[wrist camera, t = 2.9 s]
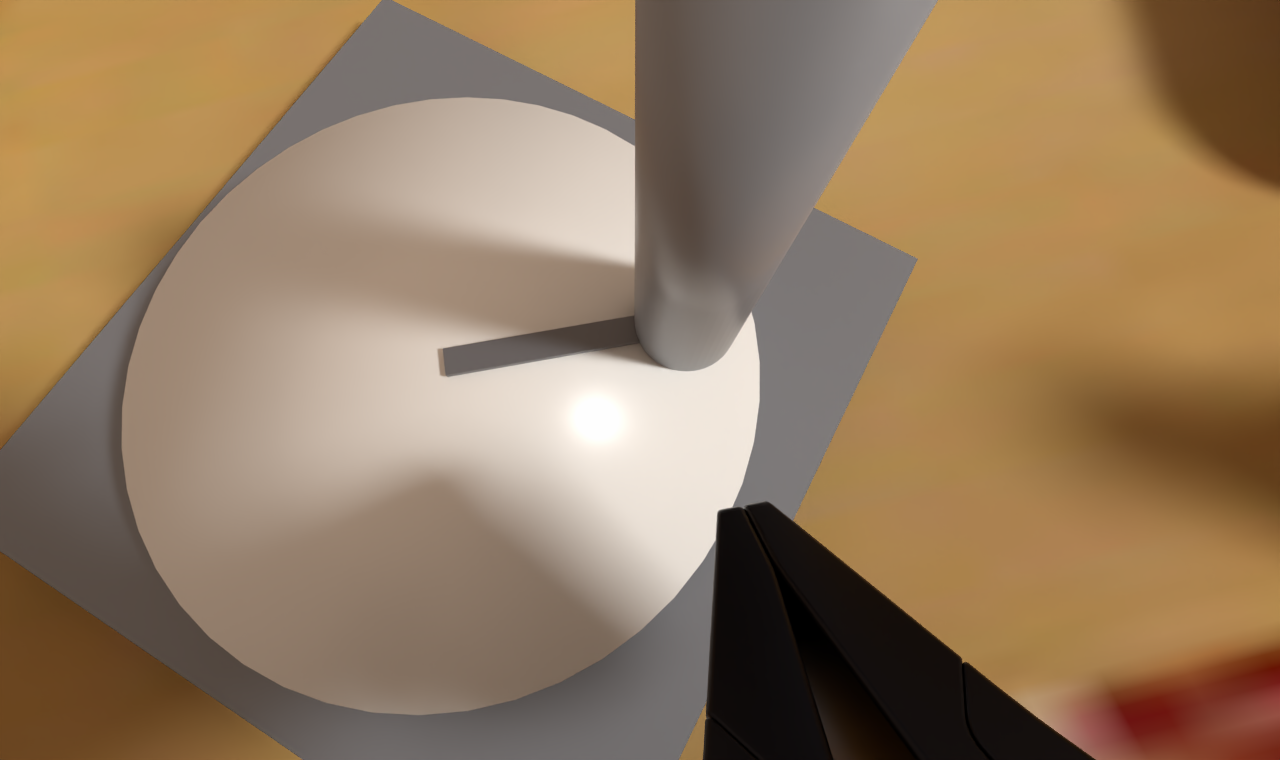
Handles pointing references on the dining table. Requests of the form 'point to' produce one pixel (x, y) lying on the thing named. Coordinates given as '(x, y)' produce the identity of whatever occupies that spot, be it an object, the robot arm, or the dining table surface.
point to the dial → (487, 361)
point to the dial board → (544, 720)
